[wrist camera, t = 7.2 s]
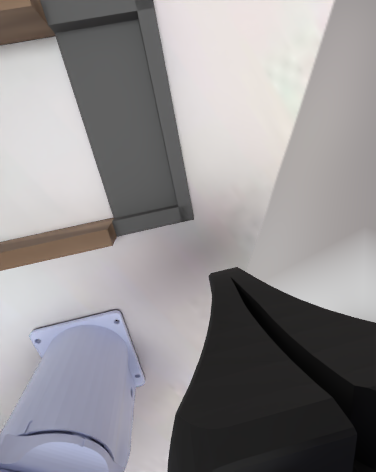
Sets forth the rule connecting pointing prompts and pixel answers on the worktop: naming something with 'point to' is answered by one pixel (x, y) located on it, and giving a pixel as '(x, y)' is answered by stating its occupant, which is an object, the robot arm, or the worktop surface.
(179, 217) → the tray
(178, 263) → the worktop surface
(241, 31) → the worktop surface
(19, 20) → the corridor
